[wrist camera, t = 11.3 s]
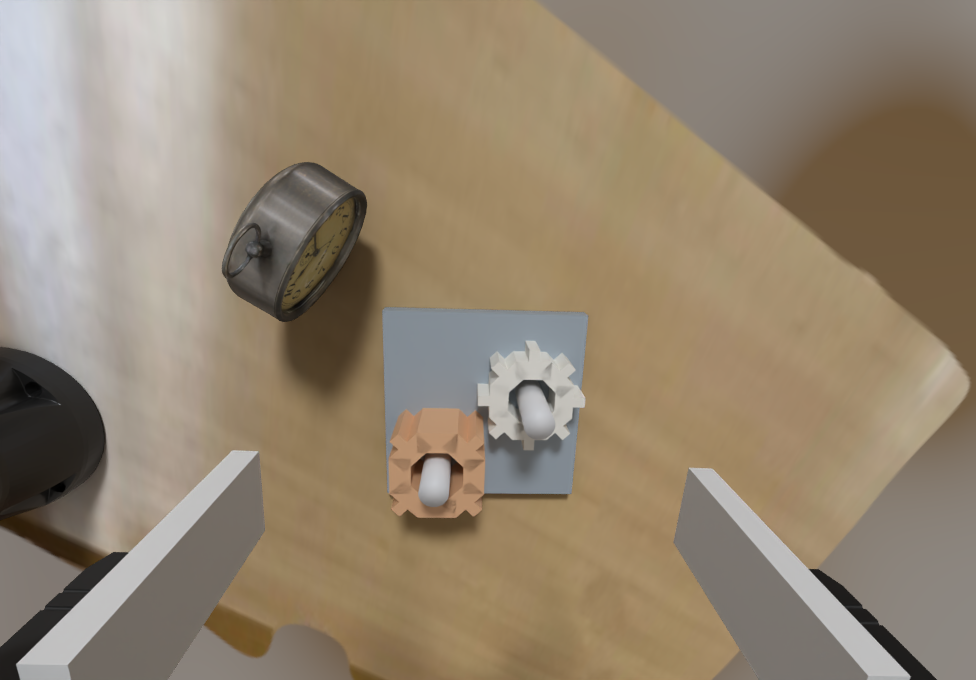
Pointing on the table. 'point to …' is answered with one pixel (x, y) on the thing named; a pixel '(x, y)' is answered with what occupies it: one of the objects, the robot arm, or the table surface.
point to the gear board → (463, 361)
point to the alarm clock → (293, 239)
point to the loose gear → (437, 435)
